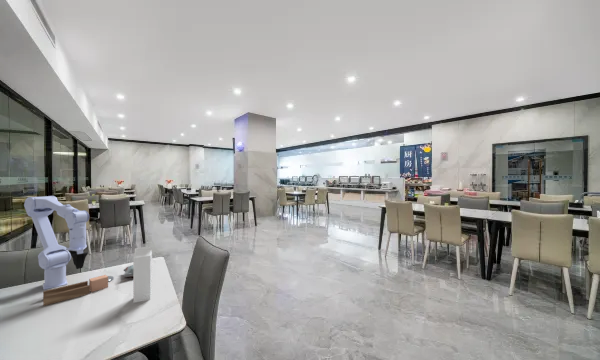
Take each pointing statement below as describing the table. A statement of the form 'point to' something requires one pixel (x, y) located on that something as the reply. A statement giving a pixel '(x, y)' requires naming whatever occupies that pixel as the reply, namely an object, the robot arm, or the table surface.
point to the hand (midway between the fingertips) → (78, 266)
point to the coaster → (110, 278)
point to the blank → (98, 283)
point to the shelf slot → (65, 293)
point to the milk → (142, 274)
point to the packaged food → (128, 271)
